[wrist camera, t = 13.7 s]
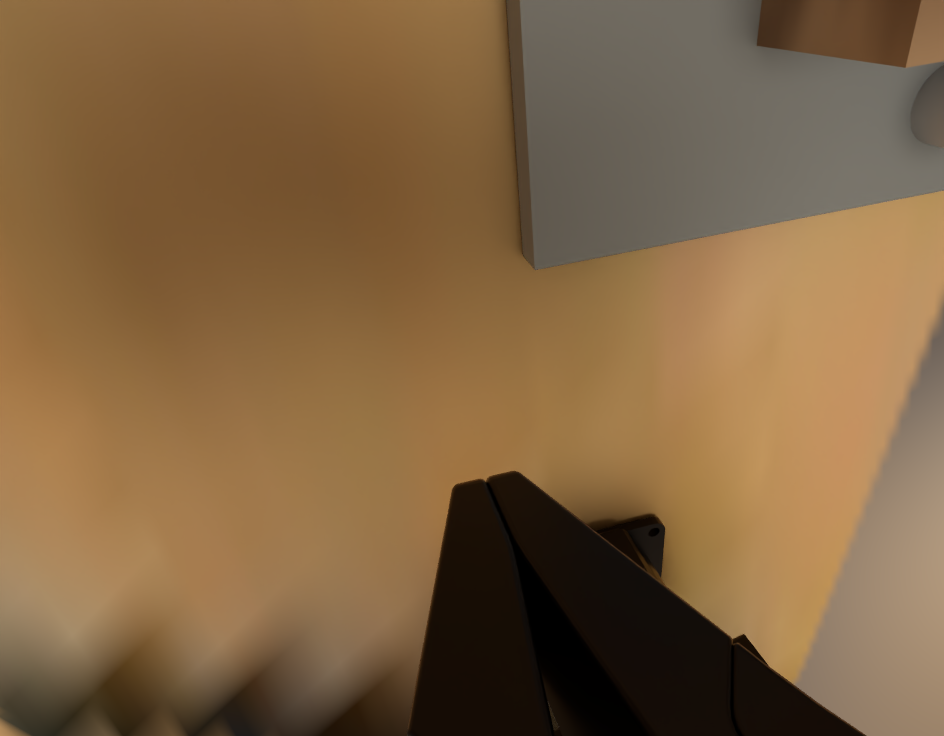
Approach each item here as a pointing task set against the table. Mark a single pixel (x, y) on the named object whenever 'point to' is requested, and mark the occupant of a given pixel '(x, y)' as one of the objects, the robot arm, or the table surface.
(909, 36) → the tan rectangular box
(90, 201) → the table surface
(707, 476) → the table surface
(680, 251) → the table surface
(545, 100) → the board
